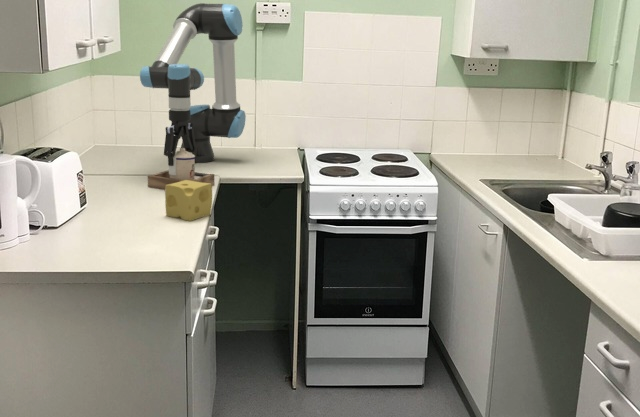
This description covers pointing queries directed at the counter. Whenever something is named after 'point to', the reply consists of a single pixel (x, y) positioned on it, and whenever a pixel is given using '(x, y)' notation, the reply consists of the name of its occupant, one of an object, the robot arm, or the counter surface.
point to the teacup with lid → (184, 165)
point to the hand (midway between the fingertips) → (180, 172)
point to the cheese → (188, 199)
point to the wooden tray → (164, 179)
